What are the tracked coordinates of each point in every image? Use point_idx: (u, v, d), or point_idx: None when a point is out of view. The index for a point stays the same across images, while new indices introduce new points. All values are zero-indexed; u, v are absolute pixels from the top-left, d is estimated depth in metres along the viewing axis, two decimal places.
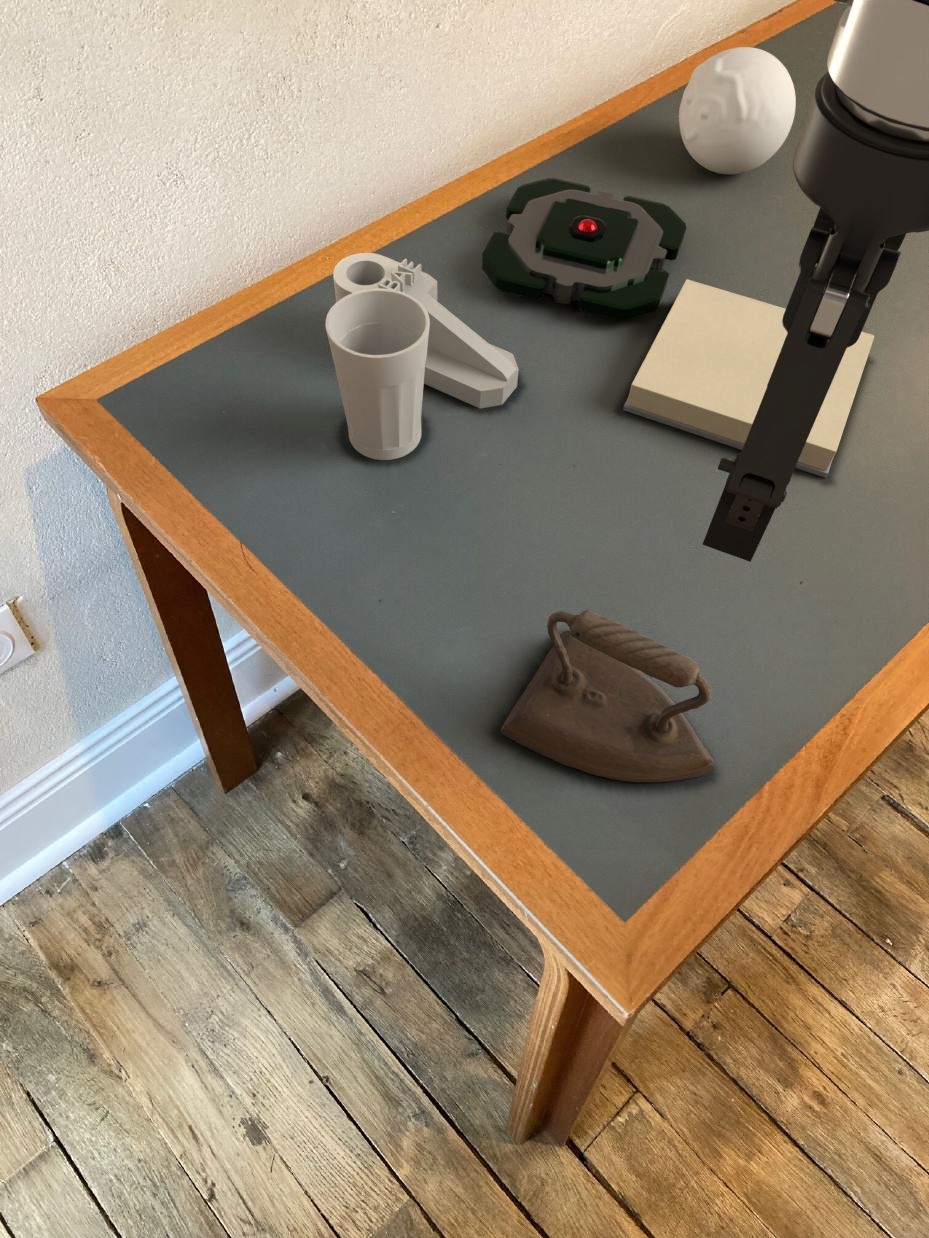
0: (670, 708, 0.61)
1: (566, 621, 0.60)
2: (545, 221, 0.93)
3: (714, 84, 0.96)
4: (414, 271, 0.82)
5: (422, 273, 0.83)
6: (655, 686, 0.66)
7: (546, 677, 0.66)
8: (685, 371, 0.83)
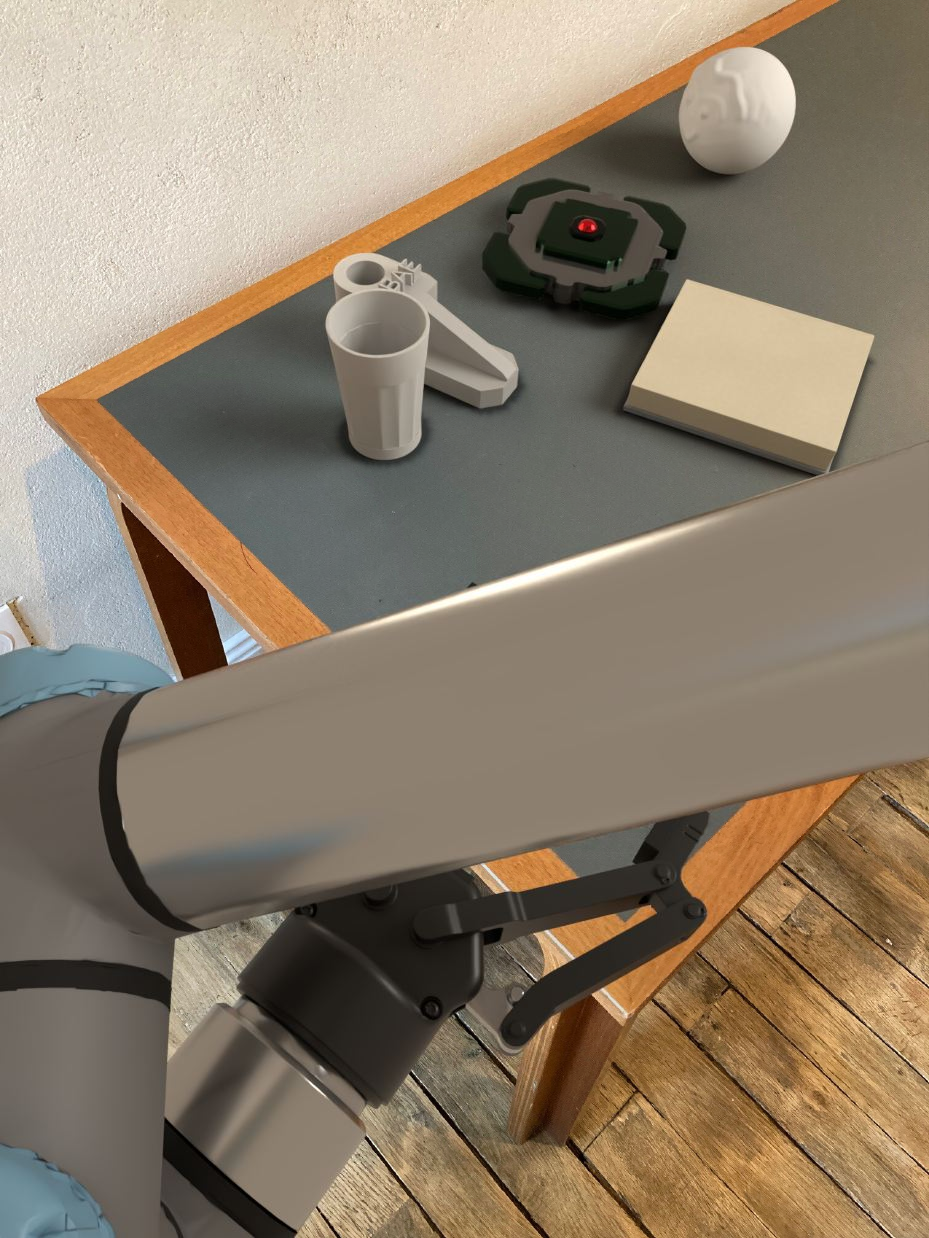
0: None
1: None
2: (545, 221, 0.93)
3: (714, 84, 0.96)
4: (414, 271, 0.82)
5: (422, 273, 0.83)
6: None
7: None
8: (685, 371, 0.83)
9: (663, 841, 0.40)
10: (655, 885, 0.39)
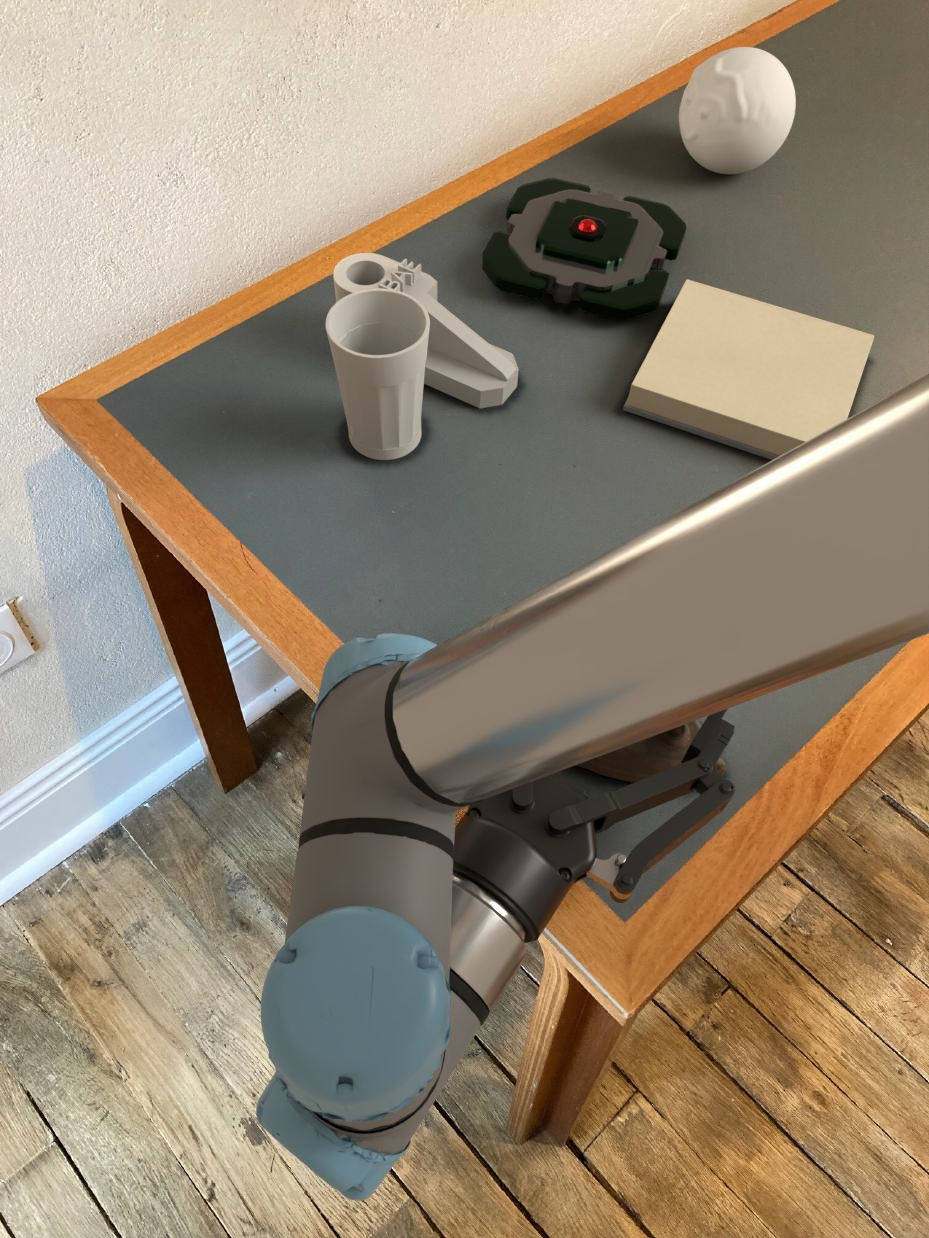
0: None
1: None
2: (545, 221, 0.93)
3: (714, 84, 0.96)
4: (414, 271, 0.82)
5: (422, 273, 0.83)
6: None
7: None
8: (685, 371, 0.83)
9: (703, 744, 0.58)
10: (700, 773, 0.57)
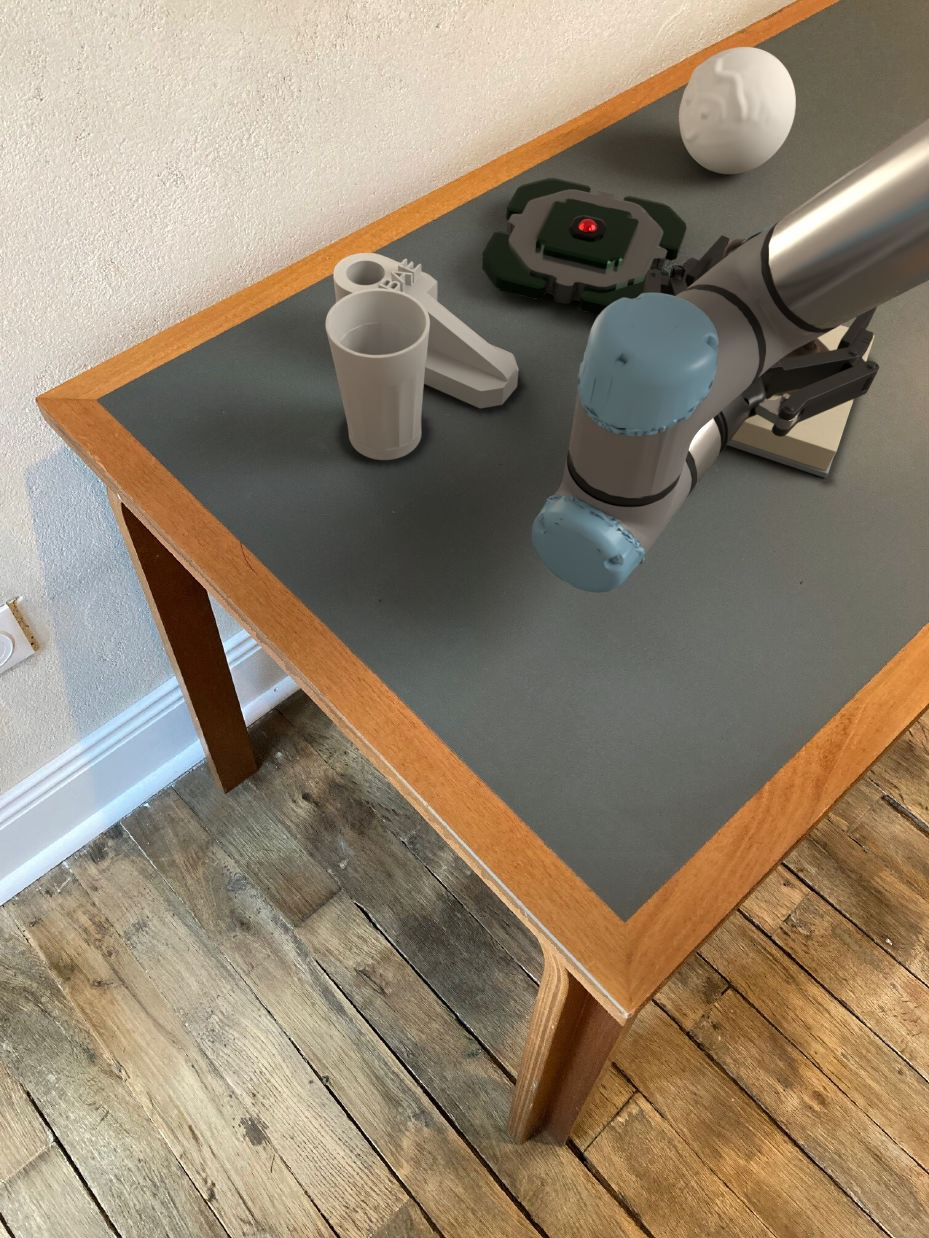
0: None
1: None
2: (545, 221, 0.93)
3: (714, 84, 0.96)
4: (414, 271, 0.82)
5: (422, 273, 0.83)
6: None
7: None
8: None
9: (851, 339, 0.74)
10: (850, 356, 0.73)
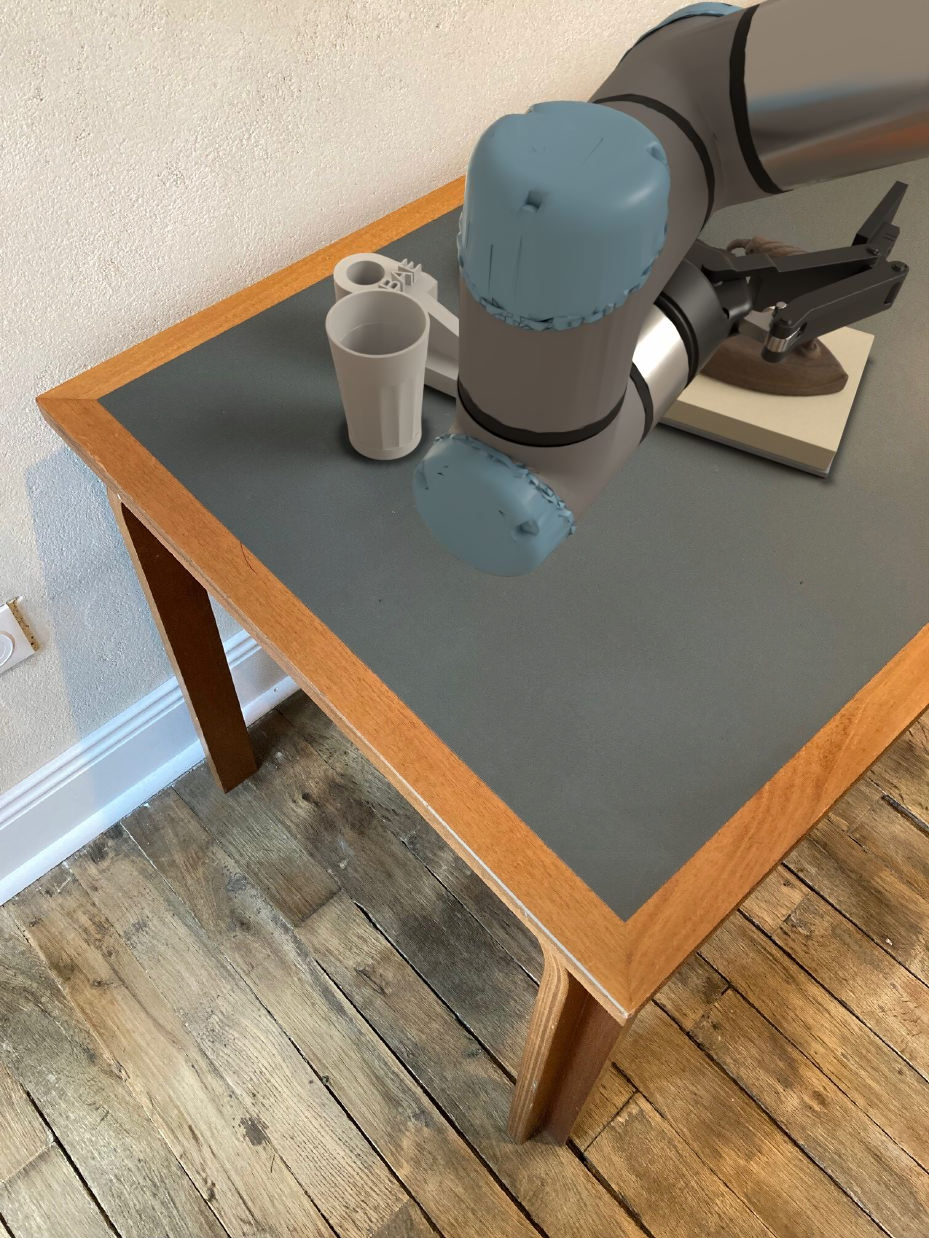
0: None
1: (741, 244, 0.77)
2: None
3: None
4: (414, 271, 0.82)
5: (422, 273, 0.83)
6: None
7: None
8: None
9: (870, 233, 0.54)
10: (869, 255, 0.53)
